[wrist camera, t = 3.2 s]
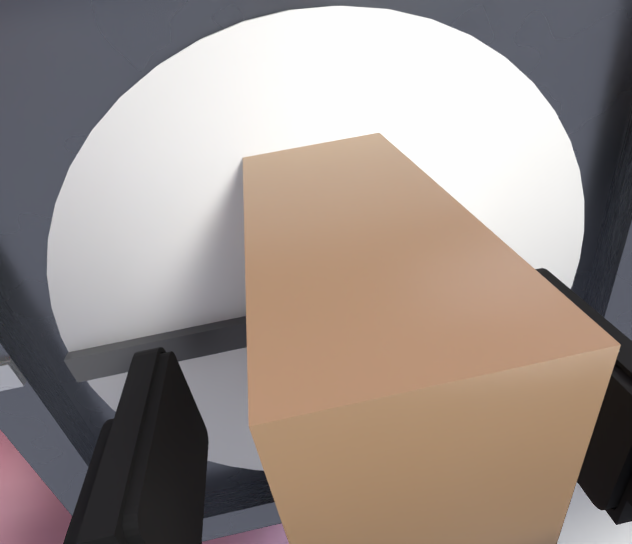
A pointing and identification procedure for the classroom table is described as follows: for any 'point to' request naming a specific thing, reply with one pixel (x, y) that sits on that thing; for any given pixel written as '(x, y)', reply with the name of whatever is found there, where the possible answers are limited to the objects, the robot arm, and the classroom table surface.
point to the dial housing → (162, 43)
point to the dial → (346, 273)
